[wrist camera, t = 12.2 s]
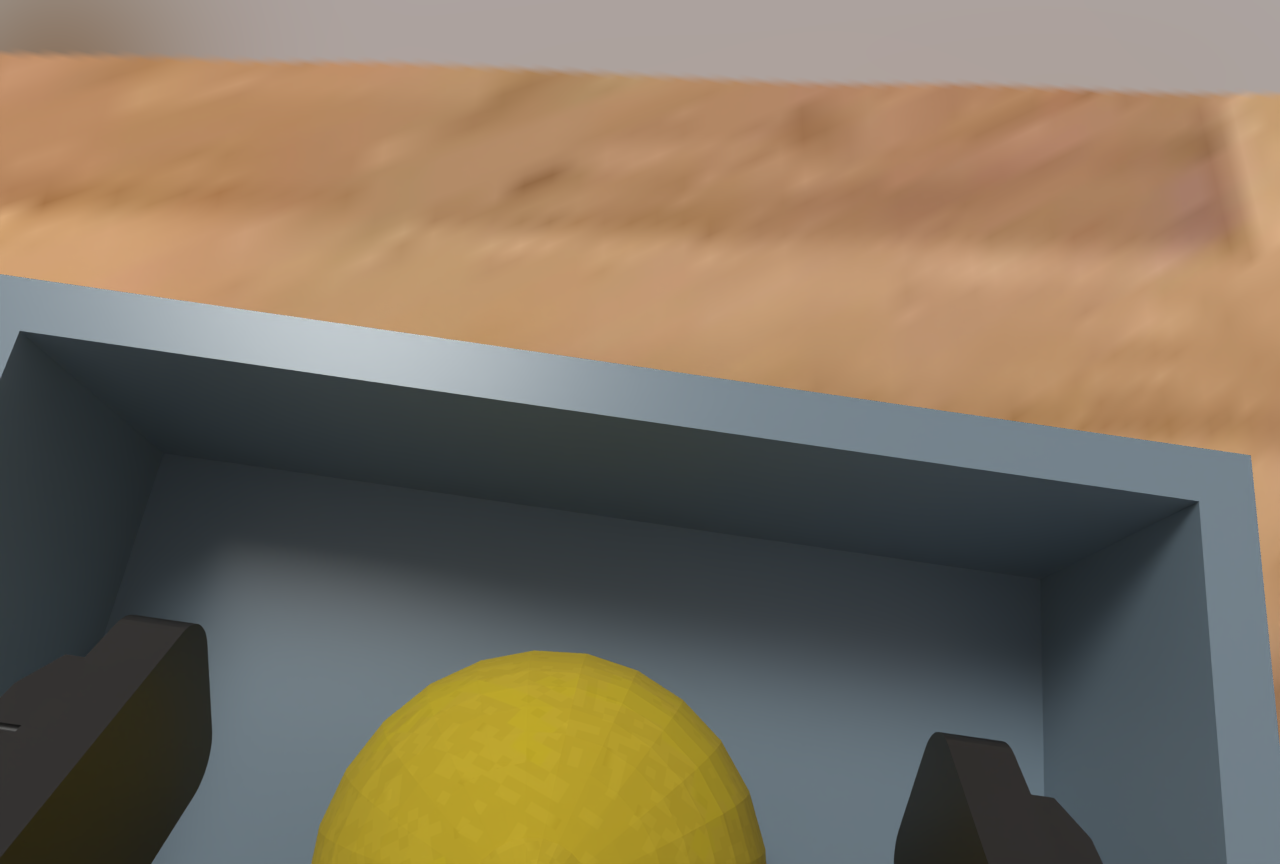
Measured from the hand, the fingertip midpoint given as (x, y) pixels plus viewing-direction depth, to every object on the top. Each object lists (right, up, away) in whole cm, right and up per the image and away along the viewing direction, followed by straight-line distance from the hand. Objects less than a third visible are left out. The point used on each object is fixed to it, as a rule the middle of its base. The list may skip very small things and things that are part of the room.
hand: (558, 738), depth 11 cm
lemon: (0, -4, +5) cm, 6 cm away
